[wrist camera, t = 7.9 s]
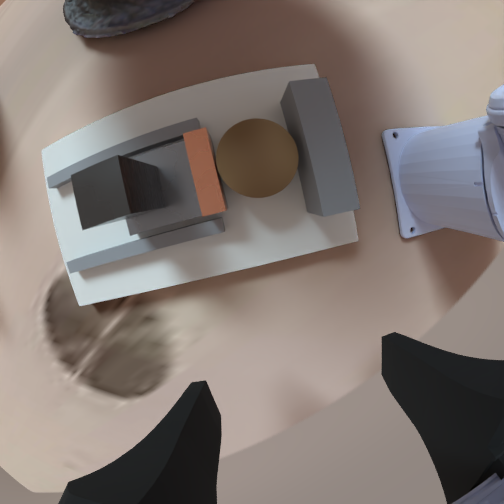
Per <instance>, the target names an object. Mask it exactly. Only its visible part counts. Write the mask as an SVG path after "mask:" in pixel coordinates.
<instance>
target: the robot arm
mask: <svg viewBox="0 0 504 504" xmlns="http://www.w3.org/2000/svg"><path fill="white" fill-rule="evenodd" d="M486 111H487V116H483V117H479V118H474V119H470V120H466V121H462V122H458V123H454V124H450V125H447V126H436V127H412V128H396V129H387V130H384V131H383V133H382V138H383V142H384V146H385V150H386V155H387V159H388V164H389V168H390V173H391V178H392V183H393V189H394V195H395V201H396V207H397V214H398V221H399V228H400V234H401V236H402V237H404V238H411V237H415V236H418V235H422V234H425V233H429V232H432V231H435V230H439V229H442V228H450V229H455V230H459V231H463V232H468V233H472V234H476V235H480V236H484V237H488V238H492V239H496V240H499V241H503V242H504V84H503V85H502V86H500V87H498V88H497V89H496V90H494V91H493V92H492V93H491V95H490V99H489V104H488V105H487V108H486ZM393 133H394V134H395V135H396V139H395V138H394V137H393ZM411 227H412V228H413V231H412V233H411V232H410V229H411ZM382 376H383V378H384V380H385V382H386V384H387V386H388V388H389V390H390V392H391V393H392V395H393V396H394V398H395V399H396V401H397V402H398V403H399V405H400V406H401V408H402V409H403V410H404V412H405V413H406V415H407V416H408V417H409V418H410V420H411V422H412V423H413V424H414V426H415V427H416V429H417V430H418V432H419V434H420V436H421V437H422V440H423V441H424V443H425V445H426V447H427V449H428V452H429V454H430V456H431V458H432V461H433V463H434V465H435V468H436V470H437V473H438V476H439V478H440V481H441V484H442V487H443V490H444V494H445V497H446V501H447V504H504V360H487V359H479V358H473V357H467V356H463V355H458V354H455V353H451V352H447V351H444V350H441V349H438V348H435V347H432V346H430V345H427V344H424V343H422V342H419V341H417V340H414V339H412V338H409V337H407V336H404V335H401V334H399V333H396V332H394V333H391V334H388V335H385V336H383V337H382ZM221 435H222V434H221V414H220V412H219V410H218V407H217V405H216V403H215V401H214V398H213V396H212V394H211V391H210V389H209V387H208V384H207V382H206V381H199V382H192V383H191V384H190V385H189V386H188V388H187V389H186V390H185V392H184V393H183V394H182V396H181V397H180V398H179V400H178V401H177V402H176V404H175V405H174V406H173V407H172V409H171V410H170V411H169V412H168V414H167V415H166V416H165V417H164V418H163V419H162V420H161V421H160V423H159V424H158V425H157V426H156V427H155V428H154V429H153V430H152V431H151V432H150V433H149V434H148V435H147V436H146V437H145V438H144V439H143V440H142V441H140V442H139V443H138V444H137V445H136V446H135V447H133V448H132V449H131V450H129V451H128V452H127V453H125V454H124V455H122V456H121V457H119V458H118V459H117V460H115V461H113V462H112V463H110V464H108V465H107V466H105V467H103V468H101V469H99V470H97V471H95V472H93V473H91V474H88V475H86V476H83V477H81V478H78V479H75V480H73V481H70V482H68V484H67V486H66V489H65V491H64V493H63V495H62V497H61V499H60V501H59V503H58V504H217V491H216V484H217V472H218V463H219V454H220V445H221Z"/></svg>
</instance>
